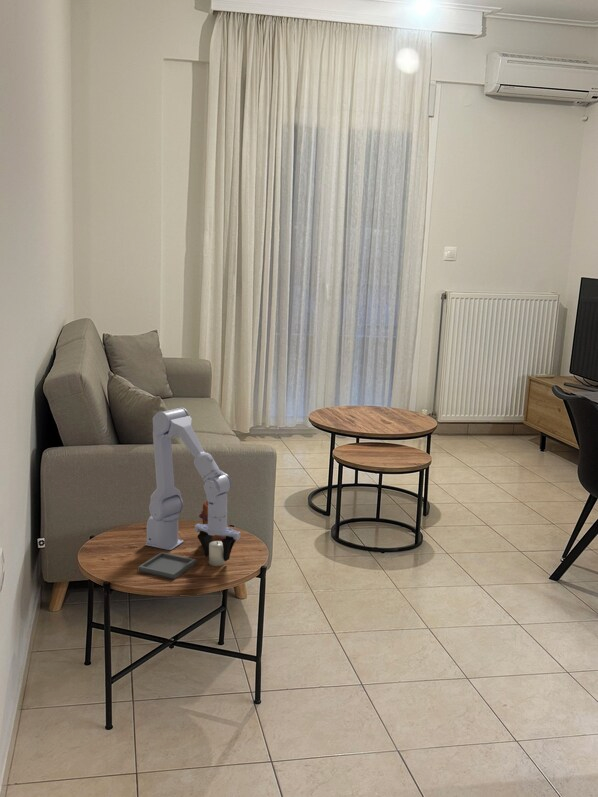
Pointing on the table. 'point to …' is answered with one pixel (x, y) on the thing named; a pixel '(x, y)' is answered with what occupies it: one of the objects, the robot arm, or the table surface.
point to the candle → (216, 553)
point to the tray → (167, 565)
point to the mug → (205, 521)
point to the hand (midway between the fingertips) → (217, 557)
